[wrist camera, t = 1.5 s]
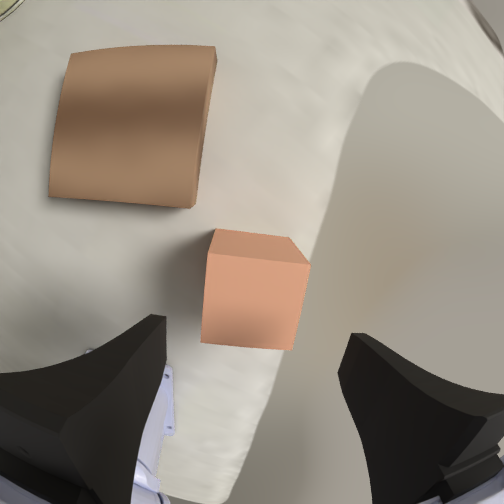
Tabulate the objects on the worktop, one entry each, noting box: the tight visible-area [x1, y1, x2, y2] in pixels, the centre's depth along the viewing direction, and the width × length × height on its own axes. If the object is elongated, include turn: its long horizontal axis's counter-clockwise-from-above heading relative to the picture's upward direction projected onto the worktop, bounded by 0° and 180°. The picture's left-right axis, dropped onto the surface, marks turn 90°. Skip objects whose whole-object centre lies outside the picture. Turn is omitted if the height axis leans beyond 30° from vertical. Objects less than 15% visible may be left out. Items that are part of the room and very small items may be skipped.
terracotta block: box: [201, 229, 311, 350], centre depth 17 cm, size 5×5×6 cm
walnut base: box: [49, 45, 217, 209], centre depth 16 cm, size 10×10×3 cm
